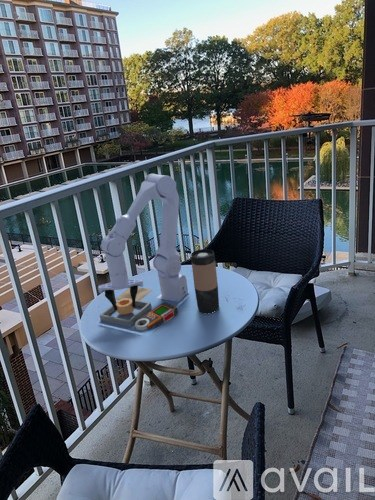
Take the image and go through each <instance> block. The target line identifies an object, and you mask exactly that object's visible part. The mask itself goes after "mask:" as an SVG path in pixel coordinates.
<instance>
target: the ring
mask: <svg viewBox="0 0 375 500" xmlns="http://www.w3.org/2000/svg"><path fill="white" fill-rule="evenodd" d="M116 307H117V310H116V311H117V314H118V315H123V316H124V315H128V314H131V313H132V312H134V311H135V310H134V309H135V308H133V304H132V299H129V298H125V299H121V300H120V299H118V302H117V301H116Z"/></svg>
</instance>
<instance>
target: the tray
mask: <svg viewBox="0 0 375 500" xmlns="http://www.w3.org/2000/svg"><path fill="white" fill-rule="evenodd" d="M121 299H125V298H121ZM121 299H119V300H121ZM119 300H118V301H119ZM118 301H117V300H116V302H118ZM135 307H141V308H140V310H139V311H137V312H136V313H135V314H134V315H133V316H132V317H131V318H129V319H124V318H119V317H114V316H111V315H112V314H113V313H114V312H115V309H114V307H113V305H112V304H111V306H110V307H108V308H107V309H106V310H105V311H103V312H102V313H101V314H100V315H99V318H100V321H103V322H107V323H111V324H116V325H121V326H123V327H129V328H131V327H132V326H133V325H135V322H136V321H137V319H138V318H140V317H141V316H143V315H145V314H146V313H148V312H149V311H151V310H152V309H153V307H152V302H149V301H143V300H140V301H139V300H135Z"/></svg>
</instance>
